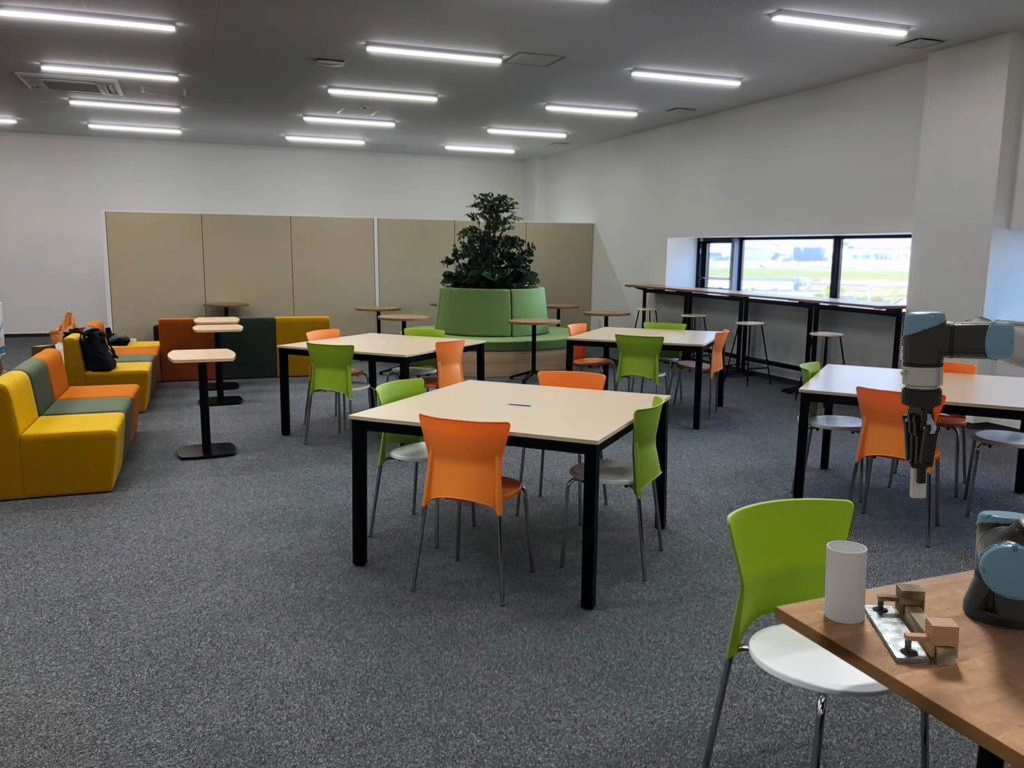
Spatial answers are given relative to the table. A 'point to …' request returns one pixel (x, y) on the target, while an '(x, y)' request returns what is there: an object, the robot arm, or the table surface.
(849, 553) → the cup
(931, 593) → the table surface
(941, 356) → the robot arm
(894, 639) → the bolt strip
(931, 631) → the block
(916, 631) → the beam
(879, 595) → the fixed leg
